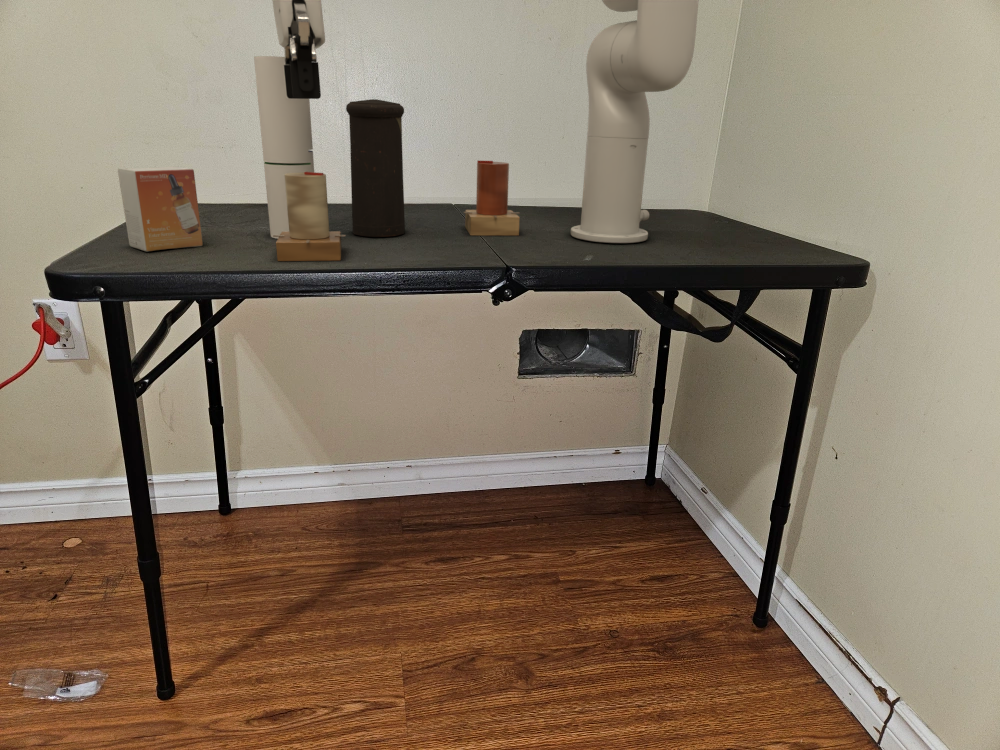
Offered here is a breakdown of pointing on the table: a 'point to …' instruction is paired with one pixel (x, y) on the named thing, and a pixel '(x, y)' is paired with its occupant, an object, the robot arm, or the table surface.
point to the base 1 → (309, 248)
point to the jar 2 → (492, 188)
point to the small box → (160, 207)
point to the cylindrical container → (281, 136)
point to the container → (376, 168)
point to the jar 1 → (307, 205)
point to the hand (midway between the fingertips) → (303, 98)
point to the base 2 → (492, 224)
